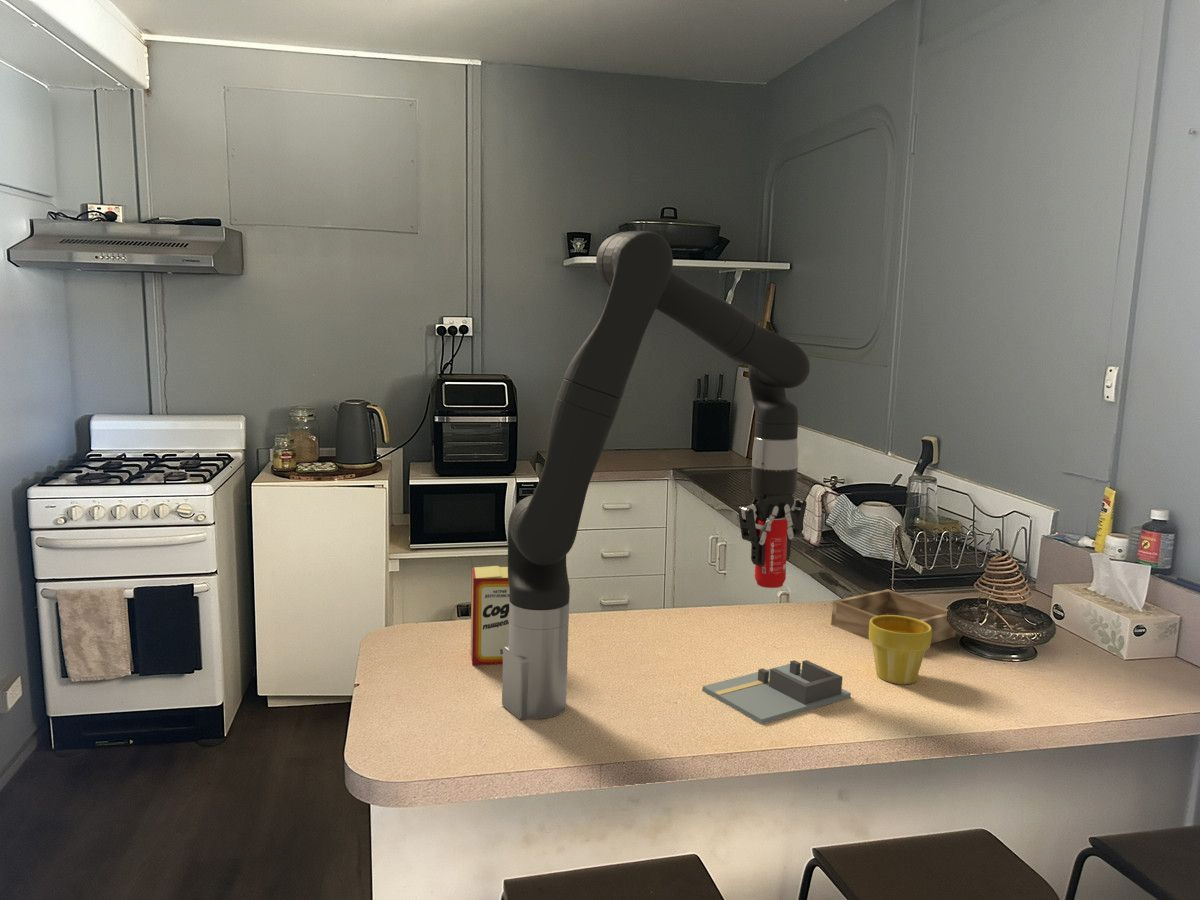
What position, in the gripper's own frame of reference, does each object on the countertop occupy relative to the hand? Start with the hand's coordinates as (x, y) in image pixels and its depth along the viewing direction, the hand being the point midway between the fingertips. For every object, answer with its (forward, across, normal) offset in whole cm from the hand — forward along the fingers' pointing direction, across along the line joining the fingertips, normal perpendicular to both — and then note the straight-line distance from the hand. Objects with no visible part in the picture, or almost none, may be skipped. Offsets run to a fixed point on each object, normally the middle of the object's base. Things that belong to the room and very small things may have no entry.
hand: (770, 561), depth 153 cm
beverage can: (+4, 0, 0) cm, 4 cm away
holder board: (+20, -4, -6) cm, 22 cm away
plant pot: (+21, +20, -12) cm, 32 cm away
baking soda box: (+19, -37, +30) cm, 51 cm away
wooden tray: (+22, +39, +4) cm, 45 cm away
